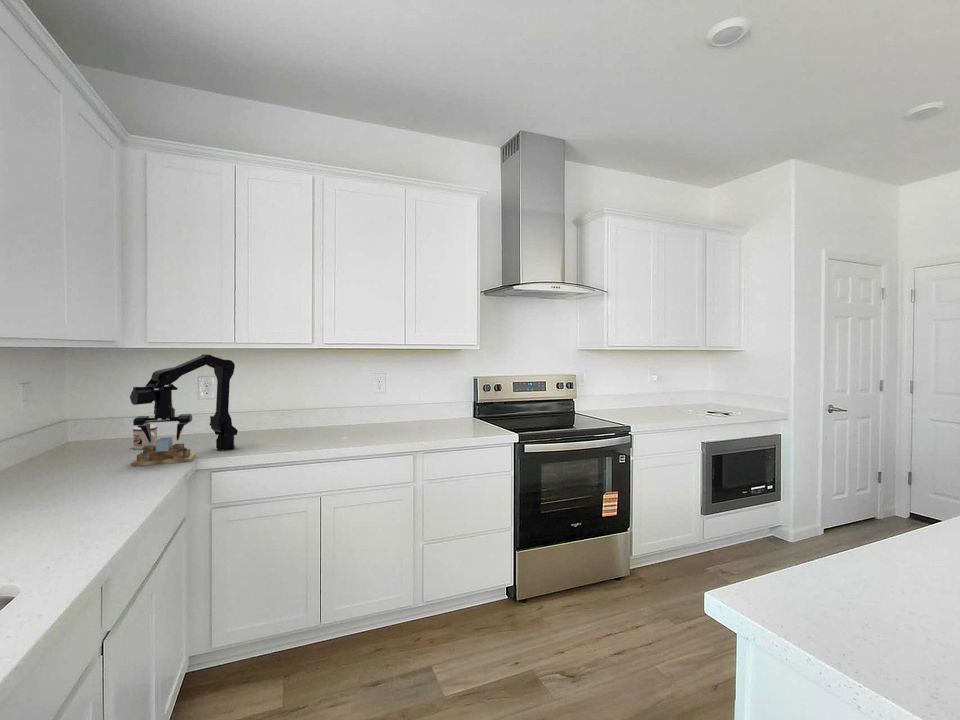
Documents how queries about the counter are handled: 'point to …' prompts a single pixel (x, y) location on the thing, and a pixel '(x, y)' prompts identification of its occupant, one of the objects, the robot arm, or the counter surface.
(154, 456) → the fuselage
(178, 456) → the jig
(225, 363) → the robot arm
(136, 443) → the teacup with lid
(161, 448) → the light blue block
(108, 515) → the counter surface
